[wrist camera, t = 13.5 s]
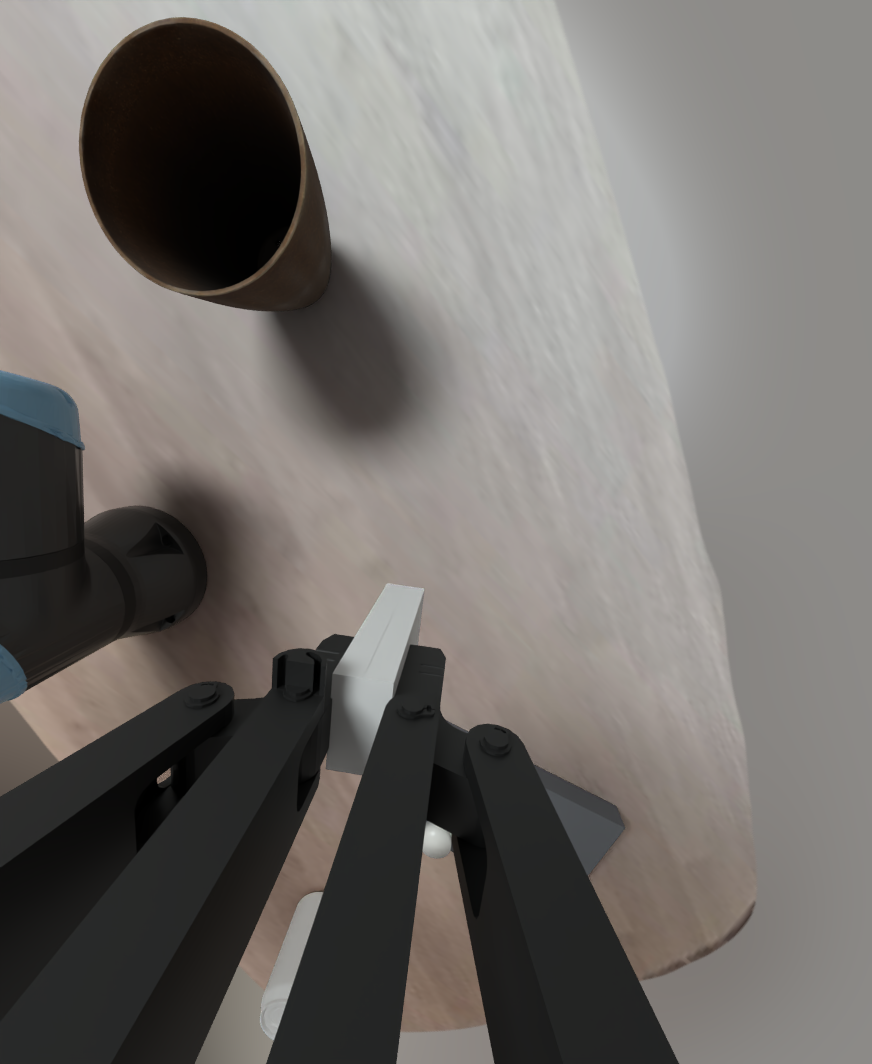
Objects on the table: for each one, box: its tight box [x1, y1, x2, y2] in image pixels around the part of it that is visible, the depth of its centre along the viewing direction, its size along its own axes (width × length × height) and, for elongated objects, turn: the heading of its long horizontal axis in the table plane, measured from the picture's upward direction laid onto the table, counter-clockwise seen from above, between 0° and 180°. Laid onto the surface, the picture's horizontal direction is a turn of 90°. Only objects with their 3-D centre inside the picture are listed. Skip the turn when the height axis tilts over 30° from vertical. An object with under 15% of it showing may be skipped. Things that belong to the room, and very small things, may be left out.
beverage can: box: [260, 892, 323, 1041], centre depth 53 cm, size 8×8×12 cm
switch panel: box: [426, 721, 625, 876], centre depth 51 cm, size 24×14×3 cm, turn 63°
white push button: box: [423, 821, 451, 858], centre depth 49 cm, size 4×4×2 cm
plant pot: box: [79, 17, 331, 311], centre depth 33 cm, size 15×15×16 cm
